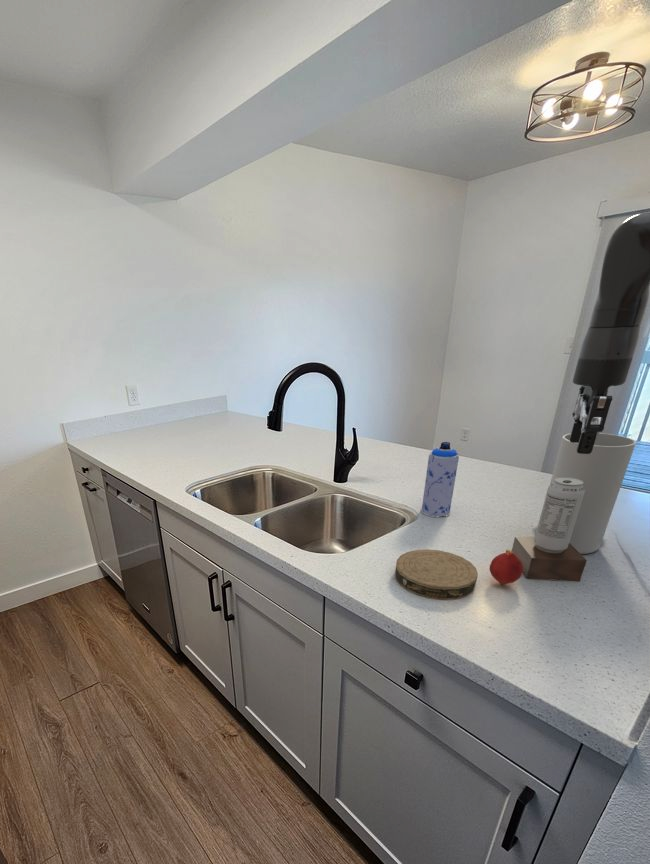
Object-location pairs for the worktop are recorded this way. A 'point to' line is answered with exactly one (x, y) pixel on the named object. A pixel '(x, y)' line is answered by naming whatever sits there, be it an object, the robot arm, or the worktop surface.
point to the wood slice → (436, 574)
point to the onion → (506, 568)
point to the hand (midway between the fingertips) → (579, 447)
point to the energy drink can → (559, 514)
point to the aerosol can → (440, 481)
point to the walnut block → (548, 561)
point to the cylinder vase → (594, 484)
